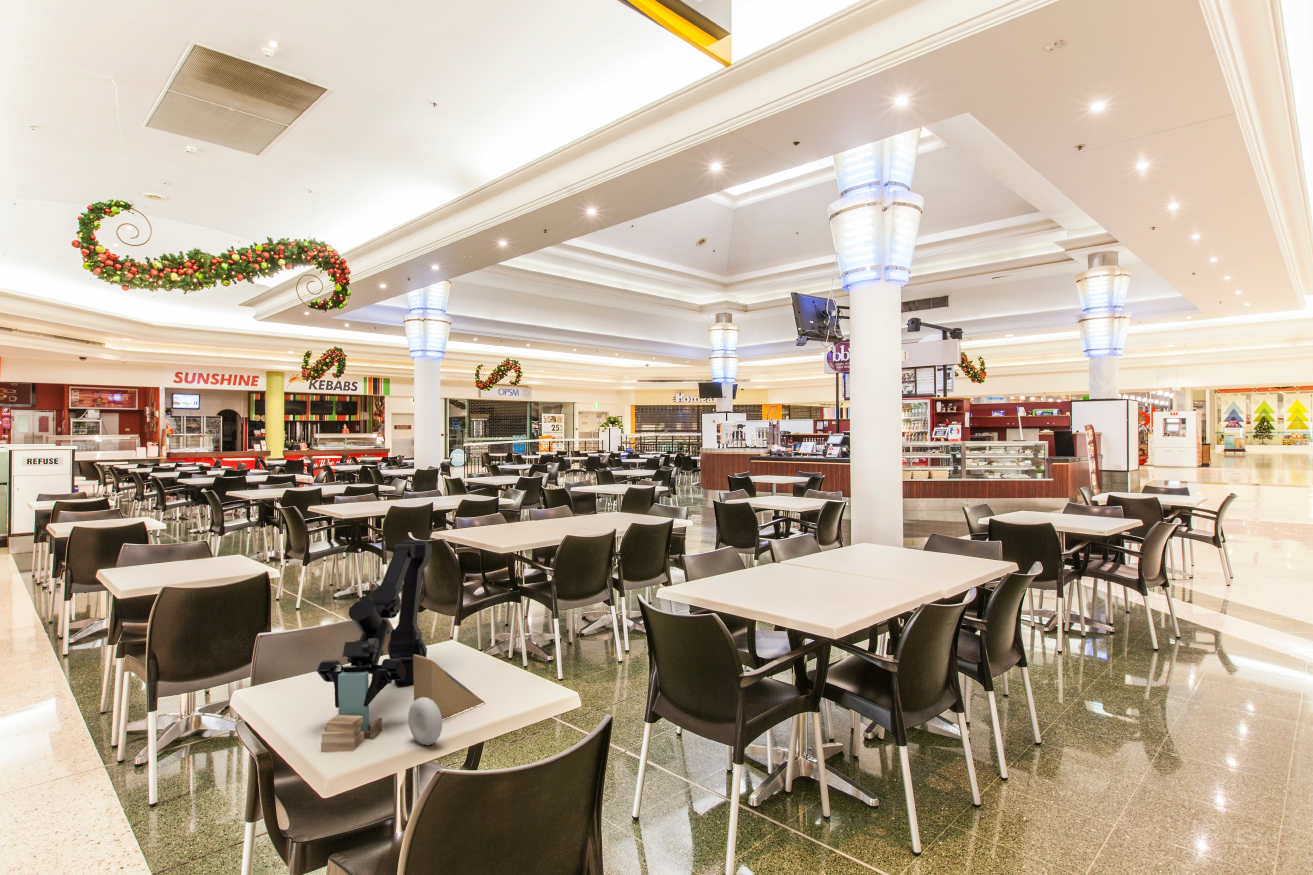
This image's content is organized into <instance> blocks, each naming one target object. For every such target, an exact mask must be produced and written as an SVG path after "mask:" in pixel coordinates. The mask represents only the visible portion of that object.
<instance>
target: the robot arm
mask: <svg viewBox="0 0 1313 875" xmlns="http://www.w3.org/2000/svg"><path fill="white" fill-rule="evenodd" d="M432 547H433V546H432V544H431V543H429V542H428V539H426V540H425V539H424V540H423V539H422V540H421V539H419V540H416V539H415V540H414V539H413V540H404V541H403V543H401V544H396V545H394V546H393V549H392V557H391V559H390V562H389V564H388V566H387V568H386V569H387V570H386V572H385V574H384V577H383V578H382V580H381V581H382V582H381V584H380V585H379V586H377V587H376V588H375V589H373V591H372V592H371V594H370V595H362V596H361V599H359V600H358V601H356V602H355V603H353V604H352V605H351V606H350V607H349V610H348V616H349V618H350V620H351V621H352V622H353V624H354V625H355V627H356V629H357V630H358V631H359V632H361V634H360V636H359V639H358V640H356V641H345V642H344V646H343V652H342V658H347V659H346V660H347V663H350V665H342V663H341V662H340V661H339V659H333V660H331V659H330V660H323V661H321V662H320V663H319V664H318V666H317V669H316V672H317V674H318V675H319V677H321V679H322V680H323V681H324V682H327V683H333V686H334V706H335V708H338V707H339V700H338V675H339V674H341V673H342V672H368V675H371V681H370V682H369V683H370V684H369V689H368V692H367V695H366V697H365V701H364V706H365V707H367V706H368V705H369V706H370V704H371V703H372V701H373V700H374V699H375V698H376V696H378V694H380V692H381V691H382V690H383V689H384V688H385V687H386V686H387V685H389V684H392V683H393V682H394V683H395V684H396V688H400V687H408V686H414V674H413V655H414V654H415V655H419V656H423V657H426V658H427V654H428V648H427V647H426V644H425V642H424V641H423V633H422V631H421V629H420V628H419V625H418V618H419V617H418V615H419V614H418V613H419V607H420V606H419V605H420V603H419V602H420V596H421V595H420V594H421V585H422V574H423V571H424V570H425V568H426V567H427V566H428V565H429V563H430V556H431V555H432V551H433V548H432ZM401 588H402V591H401V596H400V590H401ZM398 614H399V618H398V619H399V620H398V624H397V626H396V627H395V628H394V629H392V630H391V628H390V624H389V623H388V621H387V620H386V619H394V618H396V617H397V616H398ZM389 634H390V638H389V639H390V640H389V642H388V645H387V651H388V658H385V659H383V660H382V661H381V664H379V661H380V657H381V656H384V652H385V651H384V650H383V648H384V645H385V641H386V638H387V635H389Z"/></svg>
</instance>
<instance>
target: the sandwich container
mask: <svg viewBox="0 0 1313 875" xmlns="http://www.w3.org/2000/svg"><path fill="white" fill-rule="evenodd" d="M413 674H414V684H413V702H414V701H415V700H417V699H419V698H421V697H426V698H429V699H431V700H433V701H434V702H435V704H436V705H437V706H438V708H439V710H440V713H441V716H442V719H444V718H447V717H450V716H452V715H454V714H457V713H459V712H462V711H464V710H466V709H469V708H471V707H474V706H476V705H479V704H481V703H484V702H485V701H484V700H483V699H482V698H480V697H479V696H478V695H476V694H475V693H474V692H472V691H471V690H470V689H469V688H468V687H466V685H463V683H462V682H460V681H459V680H458V679H456V678H455V677H453V676H452V675H451V674H450V673H448V672H447V671H446V670H445V669H444V668H442V667H441V666H440V665H439V664H437V662H435V661H434V660H432V659H431V658H428V657H427V656H426V657H423V656H419V655H415V654H414V655H413ZM450 718H451V717H450ZM447 719H448V718H447Z"/></svg>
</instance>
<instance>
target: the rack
mask: <svg viewBox="0 0 1313 875" xmlns="http://www.w3.org/2000/svg"><path fill="white" fill-rule="evenodd" d="M325 730H326V726H325V727H324V731H325ZM382 731H383V717H381V716H380V717H378V718H377V719H375V721H373V722H372V723H371V724H369V731H361V732H364V740H375V739H376V738H377V737H378V736H379V735H380V734H381V733H382Z"/></svg>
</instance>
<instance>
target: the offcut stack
mask: <svg viewBox="0 0 1313 875" xmlns="http://www.w3.org/2000/svg"><path fill="white" fill-rule="evenodd" d="M362 724H363V716H350V715H339V714H337V715H336V716H334V717H333V718H331V719H330V720H328V721H327V722H326V723H325V727H326V730H325V729H324V731H323V733H322V734H321V743H320V752H321V753H326V752H330V753H331V752H355V750H357V749H358V747H359V746H360V745H361V744H363V742H364V741H365V739H364V732H361V725H362Z"/></svg>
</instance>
